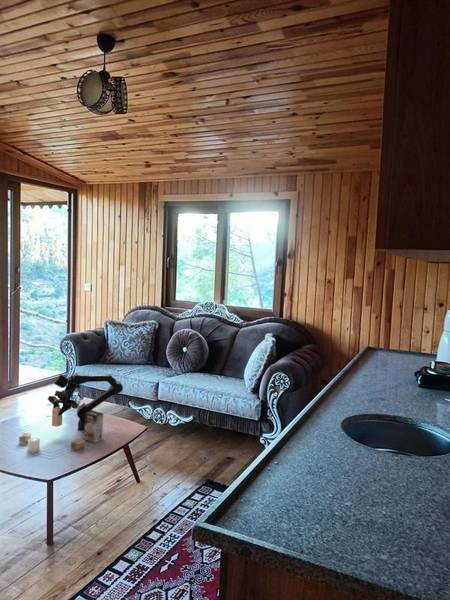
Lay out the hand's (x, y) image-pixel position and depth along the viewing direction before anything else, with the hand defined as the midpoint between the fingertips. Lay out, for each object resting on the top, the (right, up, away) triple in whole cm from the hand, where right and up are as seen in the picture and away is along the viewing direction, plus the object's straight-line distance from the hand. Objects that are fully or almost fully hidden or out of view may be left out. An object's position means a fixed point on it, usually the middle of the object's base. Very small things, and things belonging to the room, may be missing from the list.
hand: (55, 414), depth 263 cm
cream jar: (-5, -15, -18) cm, 24 cm away
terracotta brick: (0, -7, +2) cm, 7 cm away
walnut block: (+17, -16, -13) cm, 27 cm away
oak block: (-14, -14, -8) cm, 21 cm away
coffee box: (+21, -15, +2) cm, 26 cm away
